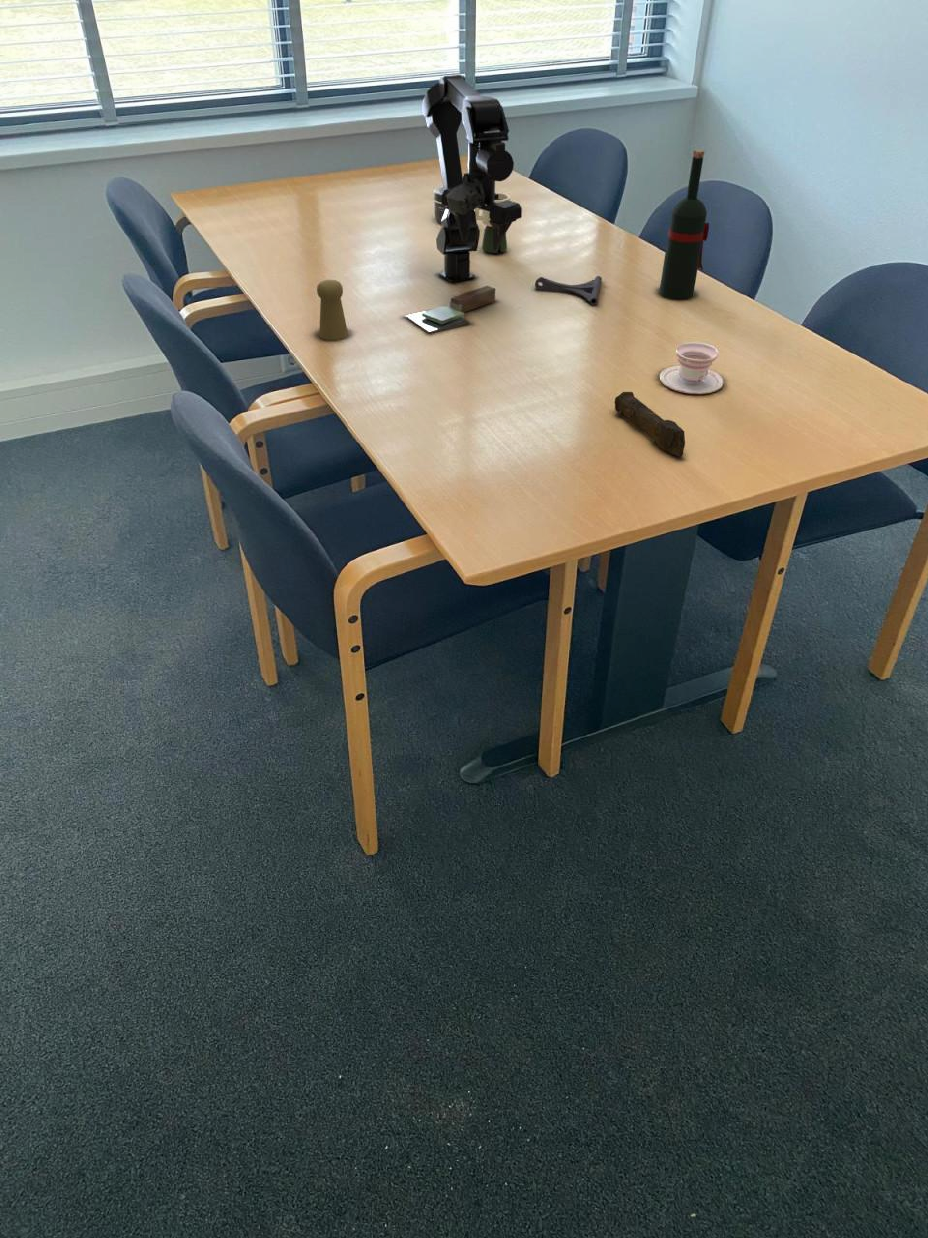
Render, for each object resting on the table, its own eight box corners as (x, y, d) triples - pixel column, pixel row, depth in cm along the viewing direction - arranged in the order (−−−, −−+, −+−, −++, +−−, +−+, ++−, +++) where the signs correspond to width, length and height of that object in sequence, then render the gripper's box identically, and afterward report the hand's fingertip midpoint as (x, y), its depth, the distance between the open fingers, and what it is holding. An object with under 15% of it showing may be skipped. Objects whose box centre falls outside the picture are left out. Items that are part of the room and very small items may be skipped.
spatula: (480, 296, 208) (481, 283, 206) (500, 303, 205) (501, 290, 203) (421, 316, 197) (421, 302, 195) (441, 324, 194) (442, 310, 192)
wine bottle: (708, 294, 210) (734, 151, 191) (673, 302, 207) (696, 157, 187) (686, 283, 216) (709, 143, 196) (652, 290, 212) (672, 148, 193)
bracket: (538, 278, 218) (539, 266, 216) (601, 282, 215) (602, 270, 214) (531, 300, 207) (531, 288, 205) (596, 305, 205) (598, 293, 203)
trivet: (405, 317, 198) (405, 315, 198) (445, 308, 202) (445, 306, 202) (429, 333, 192) (429, 331, 191) (469, 324, 196) (469, 321, 195)
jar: (477, 218, 253) (477, 189, 248) (457, 228, 246) (458, 197, 241) (447, 212, 257) (447, 183, 252) (427, 221, 250) (426, 191, 245)
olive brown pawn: (352, 331, 192) (349, 278, 185) (340, 342, 188) (336, 288, 181) (326, 327, 194) (322, 274, 187) (314, 337, 189) (308, 284, 182)
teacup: (709, 401, 169) (716, 369, 165) (649, 385, 174) (654, 354, 170) (731, 377, 177) (738, 346, 173) (673, 362, 182) (678, 332, 178)
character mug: (479, 257, 228) (480, 202, 220) (469, 248, 233) (469, 194, 225) (519, 252, 231) (522, 198, 223) (508, 244, 236) (510, 190, 228)
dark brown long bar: (611, 412, 165) (614, 388, 162) (631, 408, 166) (634, 385, 163) (666, 463, 152) (670, 438, 149) (687, 458, 153) (692, 433, 150)
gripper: (422, 166, 190) (423, 243, 200) (488, 185, 180) (485, 265, 190) (459, 156, 196) (459, 232, 206) (525, 174, 186) (521, 252, 196)
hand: (479, 245), depth 200 cm, fingers open, 9 cm apart
